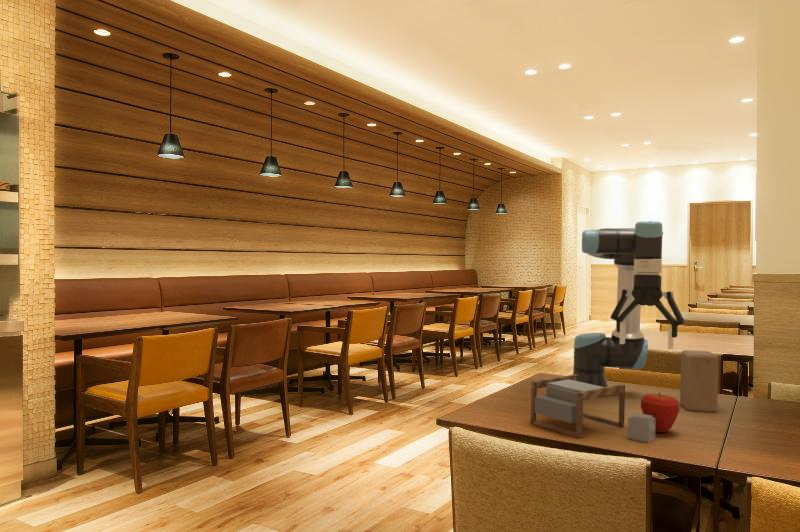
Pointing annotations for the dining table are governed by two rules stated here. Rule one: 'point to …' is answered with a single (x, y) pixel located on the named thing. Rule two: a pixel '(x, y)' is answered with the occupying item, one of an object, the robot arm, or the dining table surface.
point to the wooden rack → (580, 404)
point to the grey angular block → (561, 399)
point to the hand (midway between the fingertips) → (645, 346)
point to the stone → (641, 427)
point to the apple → (661, 410)
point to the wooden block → (699, 381)
